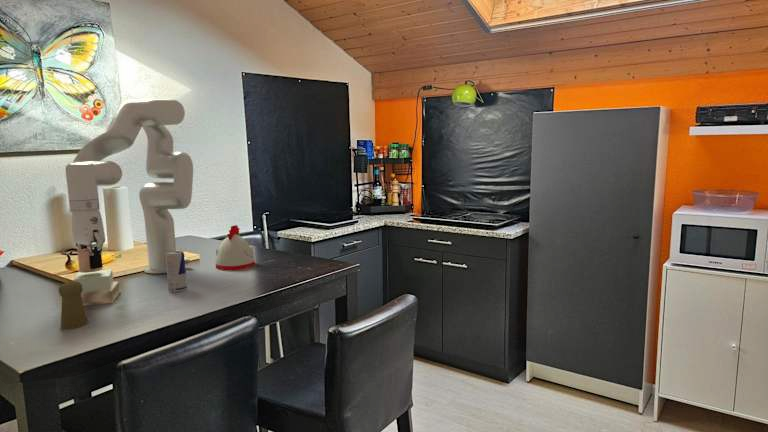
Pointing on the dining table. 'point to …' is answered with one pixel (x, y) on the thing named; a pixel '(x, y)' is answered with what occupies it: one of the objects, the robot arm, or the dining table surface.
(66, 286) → the olive pepper mill
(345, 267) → the dining table surface
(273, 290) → the dining table surface
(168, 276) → the energy drink
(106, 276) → the tower top
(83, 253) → the pink cube
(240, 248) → the white beanie hat
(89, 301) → the tower base
